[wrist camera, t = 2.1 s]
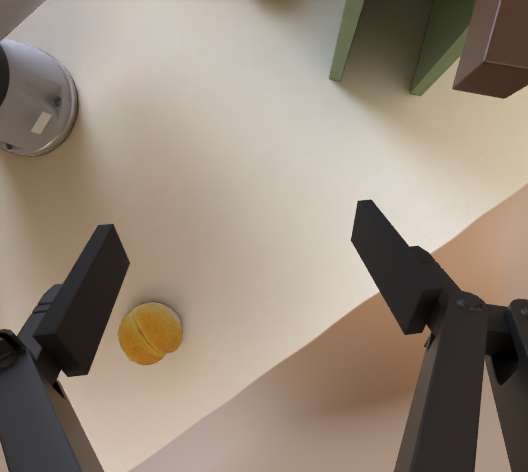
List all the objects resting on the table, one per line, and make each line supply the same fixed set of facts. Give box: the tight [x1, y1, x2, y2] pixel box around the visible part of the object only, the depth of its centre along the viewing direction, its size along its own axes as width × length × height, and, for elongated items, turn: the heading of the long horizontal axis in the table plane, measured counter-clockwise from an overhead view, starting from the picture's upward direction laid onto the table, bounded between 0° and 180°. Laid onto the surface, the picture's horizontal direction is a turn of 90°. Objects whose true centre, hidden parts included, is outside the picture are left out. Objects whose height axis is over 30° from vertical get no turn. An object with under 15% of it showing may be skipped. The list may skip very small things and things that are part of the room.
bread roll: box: [118, 302, 182, 365], centre depth 41 cm, size 8×9×4 cm
